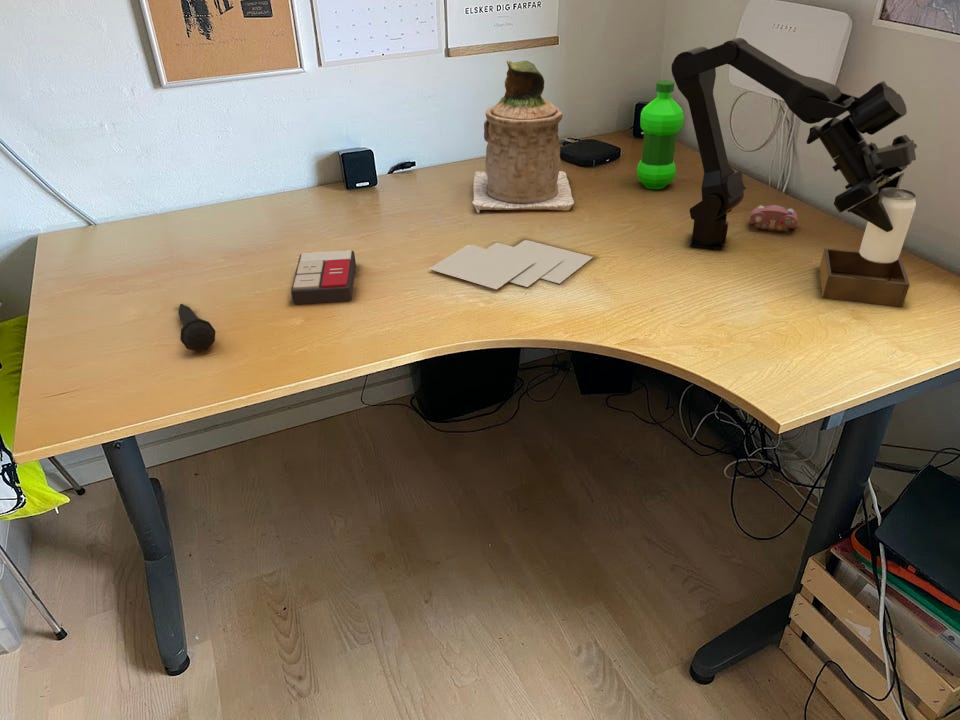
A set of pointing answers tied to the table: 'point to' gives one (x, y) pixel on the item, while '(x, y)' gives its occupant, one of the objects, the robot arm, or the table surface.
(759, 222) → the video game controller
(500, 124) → the cookie jar
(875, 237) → the can
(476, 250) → the paper stack
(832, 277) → the tray
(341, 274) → the calculator
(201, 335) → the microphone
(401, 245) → the table surface
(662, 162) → the plastic bottle
